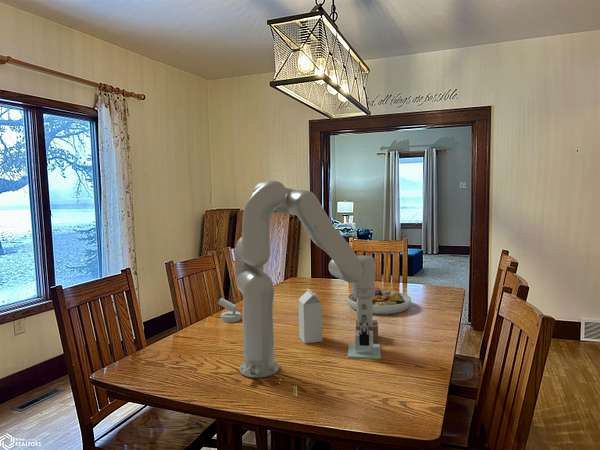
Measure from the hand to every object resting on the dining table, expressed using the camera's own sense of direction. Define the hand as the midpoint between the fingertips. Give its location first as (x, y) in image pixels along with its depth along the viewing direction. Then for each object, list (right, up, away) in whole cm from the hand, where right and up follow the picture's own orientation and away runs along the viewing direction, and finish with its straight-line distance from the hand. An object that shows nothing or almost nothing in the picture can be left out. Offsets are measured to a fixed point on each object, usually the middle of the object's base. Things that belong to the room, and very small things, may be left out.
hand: (364, 340), depth 146 cm
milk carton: (-18, -4, +13) cm, 23 cm away
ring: (0, -4, 0) cm, 4 cm away
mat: (0, -4, 0) cm, 4 cm away
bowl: (+15, 0, +56) cm, 58 cm away
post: (+3, -3, +13) cm, 14 cm away
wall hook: (-54, -2, +41) cm, 67 cm away
